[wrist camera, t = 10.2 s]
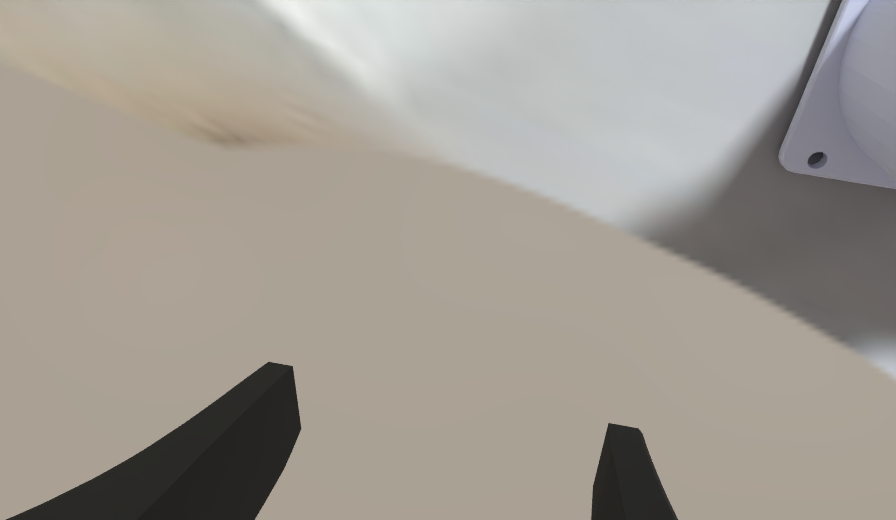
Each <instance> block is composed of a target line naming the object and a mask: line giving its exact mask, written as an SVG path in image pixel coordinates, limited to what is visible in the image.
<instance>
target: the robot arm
mask: <svg viewBox="0 0 896 520" xmlns="http://www.w3.org/2000/svg"><path fill="white" fill-rule="evenodd" d="M816 152H823V158H822V159H821V160H820V161H819V162H817V163H815V164H808V158H809V157H810V156H811V155H812V154H814V153H816ZM778 158H779V161H780V163H781V165H782V166H783V167H784V168H785V169H786V170H787V171H790V172H793V173H799V174H805V175H812V176H818V177H824V178H830V179H836V180H842V181H848V182H854V183H860V184H866V185H873V186H879V187H885V188H891V189H896V0H842V2H841V4H840V7H839V9H838V12H837V14H836V16H835V19H834V21H833V24H832V26H831V28H830V31H829V33H828V36H827V38H826V40H825V43H824V45H823V48H822V50H821V52H820V55H819V57H818V60H817V62H816V64H815V67H814V69H813V71H812V74H811V76H810V79H809V81H808V83H807V86H806V88H805V91H804V93H803V95H802V98H801V100H800V103H799V105H798V107H797V110H796V112H795V115H794V117H793V119H792V122H791V124H790V127H789V129H788V131H787V134H786V136H785V139H784V141H783V143H782V146H781V148H780V151H779V155H778ZM300 430H301V424H300V416H299V409H298V401H297V394H296V387H295V380H294V372H293V366H289V365H283V364H277V363H272V362H268V363H266V364H265V365H264V366H262V367H261V368H259V369H258V370H257V371H255V372H254V373H253V374H251V375H250V376H249V377H247V378H246V379H244V380H243V381H242V382H240V383H239V384H238V385H236V386H235V387H234V388H232V389H231V390H230V391H228V392H227V393H226V394H224V395H223V396H222V397H220V398H219V399H218V400H216V401H215V402H213V403H212V404H211V405H209V406H208V407H207V408H205V409H204V410H202V411H201V412H200V413H198V414H197V415H195V416H194V417H193V418H191V419H190V420H188V421H187V422H185V423H184V424H182V425H181V426H179V427H178V428H176V429H175V430H173V431H172V432H170V433H169V434H167V435H166V436H164V437H163V438H161V439H160V440H158V441H157V442H155V443H154V444H152V445H151V446H149V447H147V448H146V449H144V450H143V451H141V452H139V453H138V454H136V455H134V456H133V457H131V458H129V459H128V460H126V461H124V462H122V463H121V464H119V465H117V466H115V467H113V468H112V469H110V470H108V471H106V472H105V473H103V474H101V475H99V476H97V477H95V478H93V479H92V480H90V481H88V482H86V483H84V484H82V485H79V486H78V487H75V488H74V489H71V490H69V491H67V492H66V493H63V494H61V495H59V496H57V497H55V498H54V499H51V500H49V501H47V502H45V503H43V504H41V505H38V506H37V507H34V508H32V509H29V510H27V511H25V512H23V513H20V514H18V515H16V516H14V517H11V518H9V519H6V520H255V518H256V516H257V515H258V513H259V511H260V510H261V508H262V506H263V505H264V503H265V501H266V499H267V498H268V496H269V494H270V492H271V491H272V489H273V487H274V485H275V484H276V482H277V480H278V479H279V477H280V475H281V473H282V471H283V470H284V468H285V466H286V463H287V461H288V459H289V457H290V454H291V452H292V450H293V447H294V445H295V443H296V440H297V438H298V435H299V433H300ZM591 520H678V519H677V517H676V514H675V512H674V510H673V508H672V506H671V504H670V502H669V500H668V498H667V495H666V493H665V491H664V489H663V486H662V484H661V482H660V479H659V477H658V475H657V472H656V470H655V467H654V465H653V462H652V460H651V457H650V455H649V451H648V449H647V446H646V443H645V440H644V437H643V434H642V433H641V431H640V430H639V429H638V428H632V427H627V426H621V425H616V424H610V423H609V424H608V428H607V432H606V436H605V440H604V444H603V448H602V452H601V456H600V460H599V465H598V469H597V473H596V477H595V481H594V485H593V499H592V518H591Z"/></svg>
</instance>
